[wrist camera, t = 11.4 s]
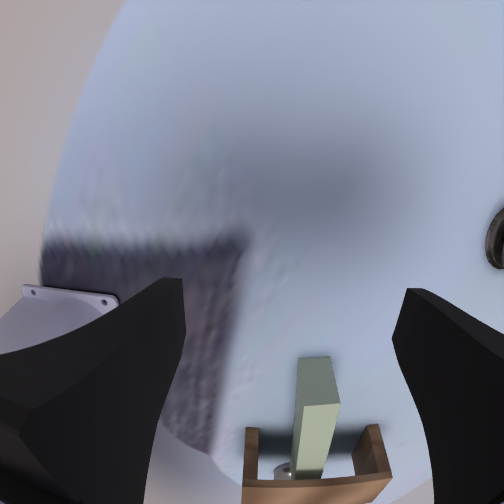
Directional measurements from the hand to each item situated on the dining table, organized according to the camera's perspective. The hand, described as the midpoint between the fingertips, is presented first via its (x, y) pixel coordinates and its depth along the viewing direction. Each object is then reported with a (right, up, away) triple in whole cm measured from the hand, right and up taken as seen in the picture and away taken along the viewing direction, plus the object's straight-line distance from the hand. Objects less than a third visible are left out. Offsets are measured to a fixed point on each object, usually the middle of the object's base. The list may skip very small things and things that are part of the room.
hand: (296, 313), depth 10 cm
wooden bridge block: (+4, -18, +18) cm, 26 cm away
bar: (+4, -13, +17) cm, 22 cm away
